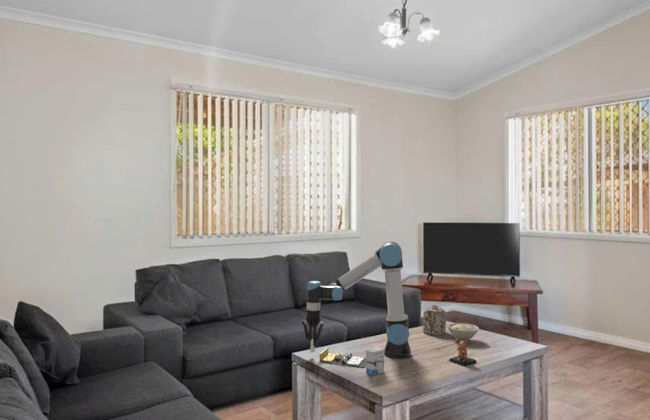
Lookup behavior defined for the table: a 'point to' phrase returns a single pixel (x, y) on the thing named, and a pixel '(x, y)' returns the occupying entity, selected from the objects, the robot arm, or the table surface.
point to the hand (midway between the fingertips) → (312, 351)
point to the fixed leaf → (352, 360)
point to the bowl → (462, 331)
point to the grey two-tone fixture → (346, 362)
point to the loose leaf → (329, 356)
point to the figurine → (462, 355)
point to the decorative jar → (434, 320)
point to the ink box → (374, 361)
